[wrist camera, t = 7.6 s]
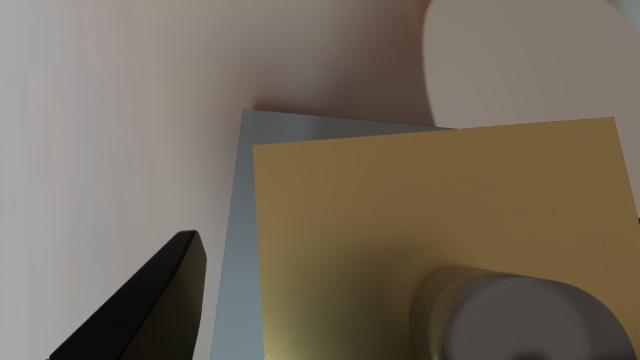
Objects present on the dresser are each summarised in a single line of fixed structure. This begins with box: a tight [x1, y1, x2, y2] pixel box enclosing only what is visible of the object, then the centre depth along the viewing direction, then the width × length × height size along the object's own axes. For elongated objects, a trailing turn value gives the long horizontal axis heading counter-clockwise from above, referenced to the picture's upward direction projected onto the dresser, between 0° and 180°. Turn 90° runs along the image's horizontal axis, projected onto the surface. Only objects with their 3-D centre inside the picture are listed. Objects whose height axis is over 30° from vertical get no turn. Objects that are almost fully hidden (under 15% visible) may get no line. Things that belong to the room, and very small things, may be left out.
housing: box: [253, 117, 640, 360], centre depth 9 cm, size 5×5×14 cm
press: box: [210, 109, 453, 360], centre depth 14 cm, size 14×12×8 cm
